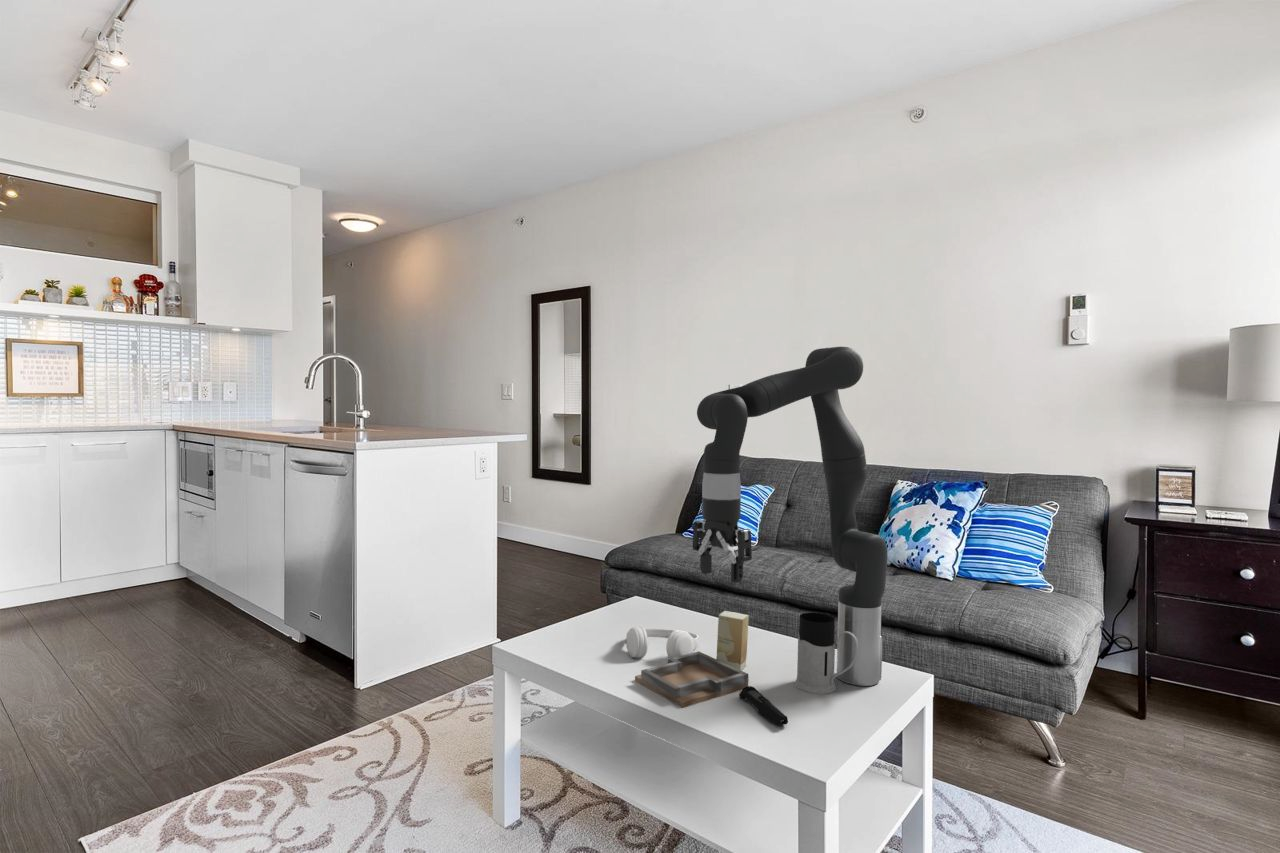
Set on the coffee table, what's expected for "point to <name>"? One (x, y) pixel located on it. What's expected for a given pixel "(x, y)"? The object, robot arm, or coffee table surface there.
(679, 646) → the headphones
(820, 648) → the glass holder
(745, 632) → the skincare box
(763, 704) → the electric trimmer
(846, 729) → the coffee table surface
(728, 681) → the keyhole board
